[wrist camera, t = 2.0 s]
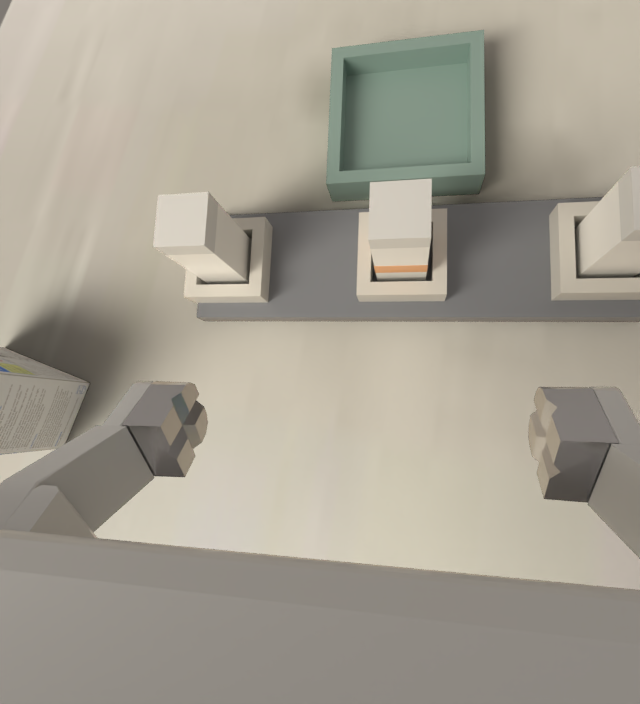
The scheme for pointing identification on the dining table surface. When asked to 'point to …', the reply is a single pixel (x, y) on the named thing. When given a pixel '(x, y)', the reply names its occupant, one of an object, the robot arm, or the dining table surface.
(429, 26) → the dining table surface
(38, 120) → the dining table surface
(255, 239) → the board
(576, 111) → the dining table surface
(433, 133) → the tray
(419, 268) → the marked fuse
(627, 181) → the block
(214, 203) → the block
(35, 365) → the light bulb box
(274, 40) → the dining table surface
